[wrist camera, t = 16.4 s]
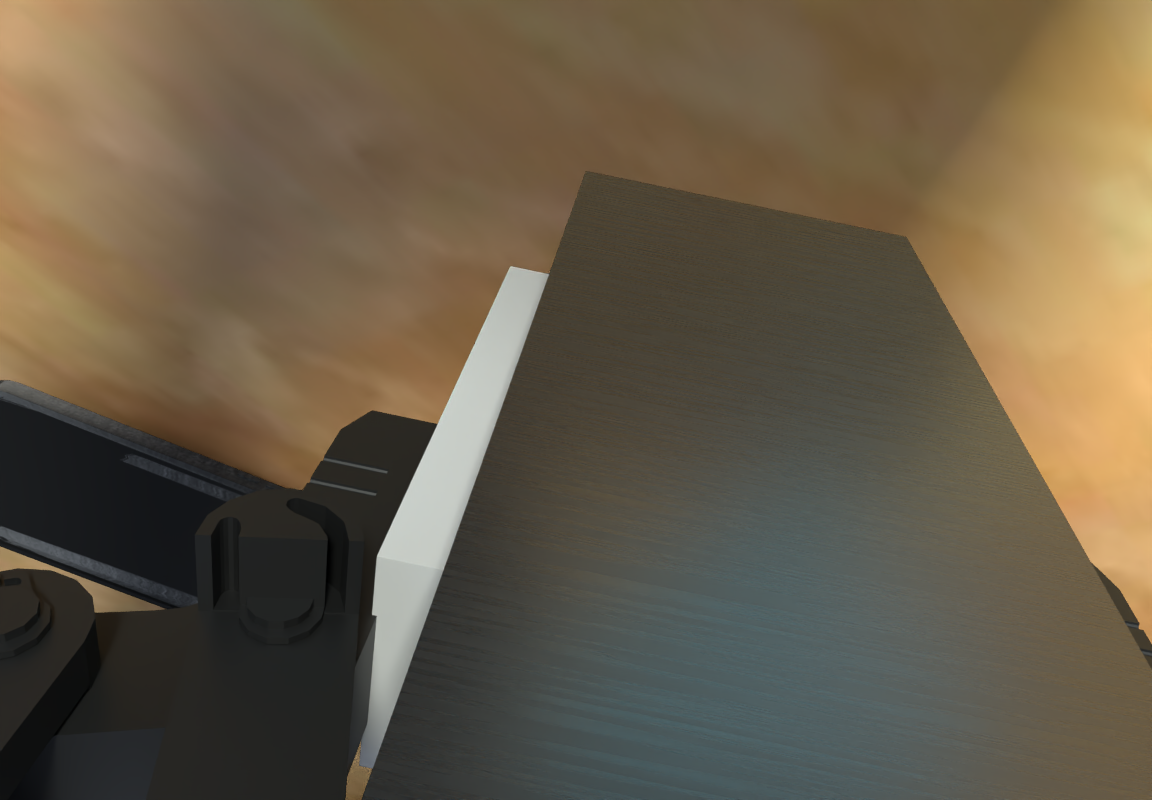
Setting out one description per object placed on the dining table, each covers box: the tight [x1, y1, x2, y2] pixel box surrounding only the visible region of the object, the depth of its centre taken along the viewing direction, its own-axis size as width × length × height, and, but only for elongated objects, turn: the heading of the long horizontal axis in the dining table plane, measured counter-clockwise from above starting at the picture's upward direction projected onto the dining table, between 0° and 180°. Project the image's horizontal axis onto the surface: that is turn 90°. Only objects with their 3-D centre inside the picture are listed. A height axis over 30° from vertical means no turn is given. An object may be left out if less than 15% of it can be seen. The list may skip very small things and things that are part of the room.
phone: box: [0, 380, 286, 609], centre depth 37 cm, size 8×1×15 cm
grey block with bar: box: [362, 171, 1152, 800], centre depth 11 cm, size 8×12×12 cm
